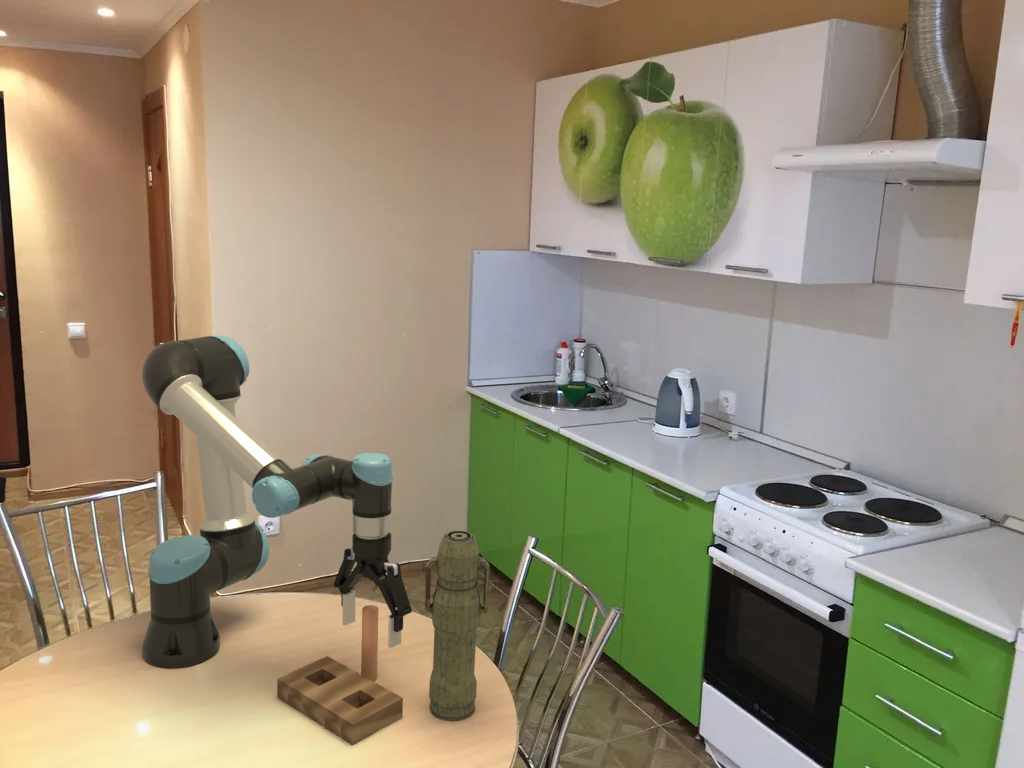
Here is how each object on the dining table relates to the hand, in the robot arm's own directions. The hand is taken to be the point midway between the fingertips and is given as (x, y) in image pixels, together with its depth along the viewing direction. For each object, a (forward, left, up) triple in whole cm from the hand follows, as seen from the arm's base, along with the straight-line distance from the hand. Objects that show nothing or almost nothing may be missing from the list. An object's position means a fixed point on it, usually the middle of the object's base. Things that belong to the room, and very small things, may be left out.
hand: (371, 633), depth 175 cm
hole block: (+4, -11, -10) cm, 15 cm away
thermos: (+19, +4, -10) cm, 22 cm away
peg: (0, 0, -10) cm, 10 cm away
